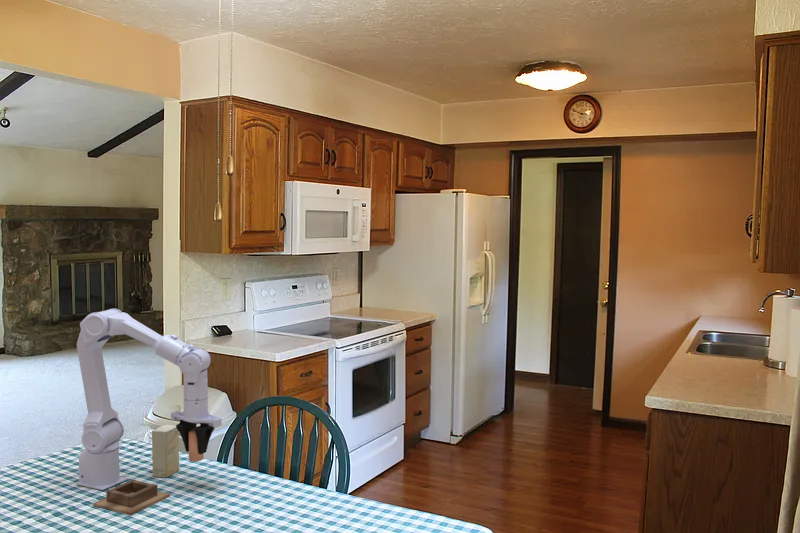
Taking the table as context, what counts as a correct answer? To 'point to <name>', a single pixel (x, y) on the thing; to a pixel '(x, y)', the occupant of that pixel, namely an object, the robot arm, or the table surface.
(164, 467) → the skincare box
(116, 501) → the holder
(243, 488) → the table surface
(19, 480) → the table surface
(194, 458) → the peg
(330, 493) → the table surface
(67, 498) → the table surface
